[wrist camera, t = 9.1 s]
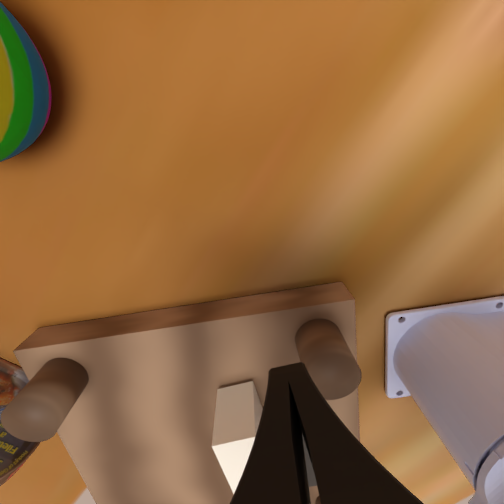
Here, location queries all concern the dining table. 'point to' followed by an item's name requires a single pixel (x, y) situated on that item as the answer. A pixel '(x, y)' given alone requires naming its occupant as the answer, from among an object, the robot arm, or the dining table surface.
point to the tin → (3, 443)
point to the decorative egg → (20, 88)
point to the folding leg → (235, 428)
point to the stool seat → (177, 386)
